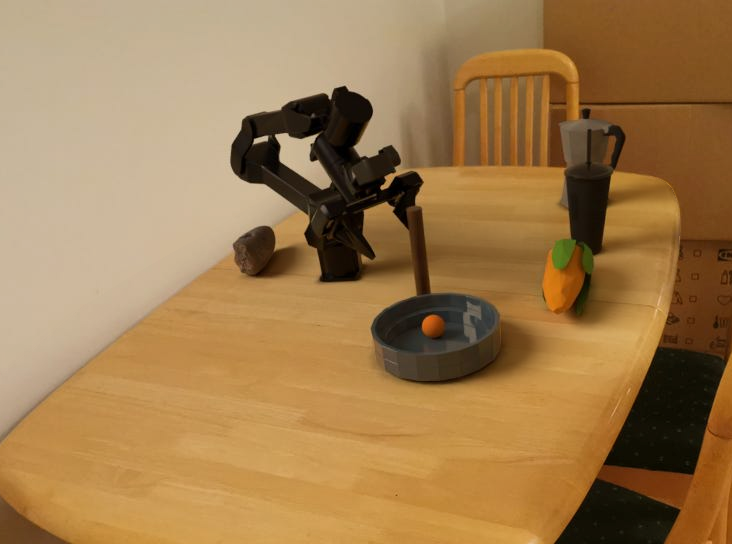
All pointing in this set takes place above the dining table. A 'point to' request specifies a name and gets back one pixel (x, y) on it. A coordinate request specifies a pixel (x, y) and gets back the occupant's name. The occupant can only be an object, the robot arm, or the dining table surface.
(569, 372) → the dining table surface
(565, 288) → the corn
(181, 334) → the dining table surface
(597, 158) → the coffeepot
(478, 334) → the bowl
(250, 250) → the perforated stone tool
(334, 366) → the dining table surface
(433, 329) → the ball
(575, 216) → the drinking cup
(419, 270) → the stirring stick
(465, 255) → the dining table surface
